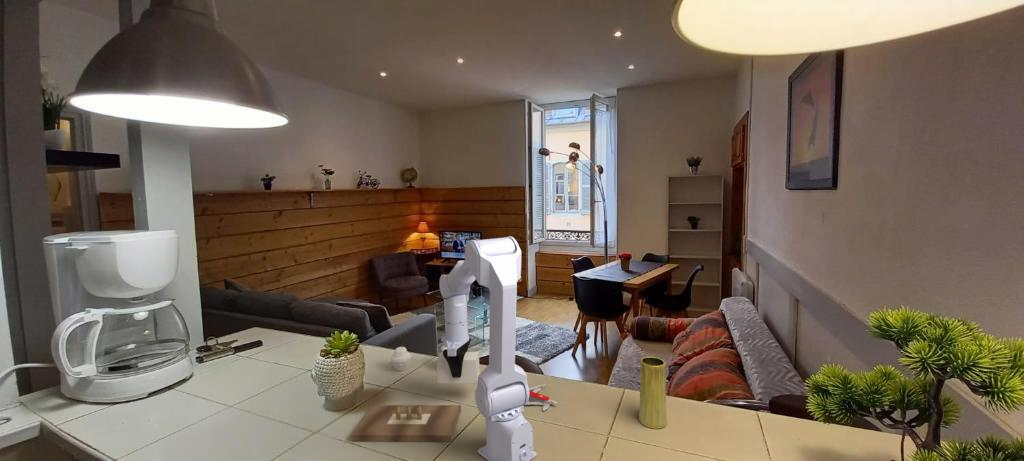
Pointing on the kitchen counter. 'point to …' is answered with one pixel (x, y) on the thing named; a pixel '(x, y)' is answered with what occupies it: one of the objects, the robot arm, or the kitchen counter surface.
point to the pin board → (408, 423)
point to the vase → (652, 393)
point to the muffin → (401, 359)
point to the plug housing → (468, 369)
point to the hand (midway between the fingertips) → (458, 371)
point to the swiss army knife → (539, 398)
